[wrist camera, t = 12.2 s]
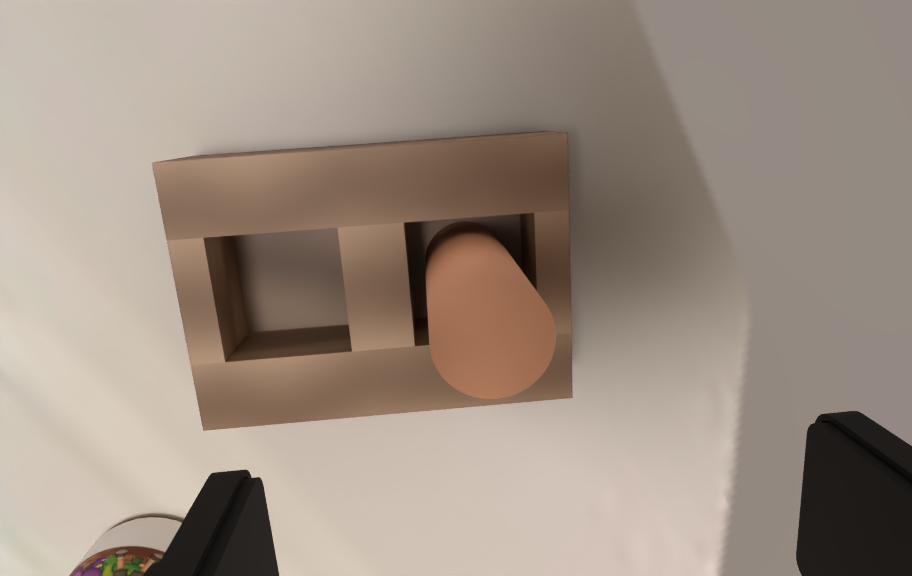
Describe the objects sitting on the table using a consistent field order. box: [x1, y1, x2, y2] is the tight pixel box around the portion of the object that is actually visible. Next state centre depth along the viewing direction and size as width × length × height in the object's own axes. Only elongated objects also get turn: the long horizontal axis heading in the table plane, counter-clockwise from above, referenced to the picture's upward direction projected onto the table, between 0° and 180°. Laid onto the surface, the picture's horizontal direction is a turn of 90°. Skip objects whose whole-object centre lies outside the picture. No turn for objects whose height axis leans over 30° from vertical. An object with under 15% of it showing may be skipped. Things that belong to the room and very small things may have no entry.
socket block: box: [152, 131, 572, 431], centre depth 30 cm, size 12×17×5 cm
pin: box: [425, 221, 556, 399], centre depth 25 cm, size 4×4×12 cm
